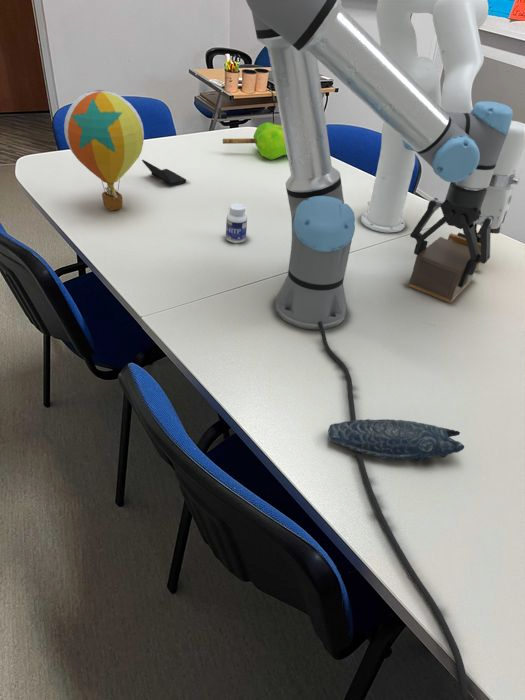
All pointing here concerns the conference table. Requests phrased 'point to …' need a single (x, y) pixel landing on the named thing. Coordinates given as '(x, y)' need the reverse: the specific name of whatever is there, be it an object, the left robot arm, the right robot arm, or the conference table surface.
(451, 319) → the conference table surface
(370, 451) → the fish model
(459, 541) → the conference table surface
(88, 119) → the toy
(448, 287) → the cabinet
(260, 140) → the decorative tree
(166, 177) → the black angular piece
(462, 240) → the drawer
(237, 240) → the pill bottle
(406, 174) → the right robot arm
